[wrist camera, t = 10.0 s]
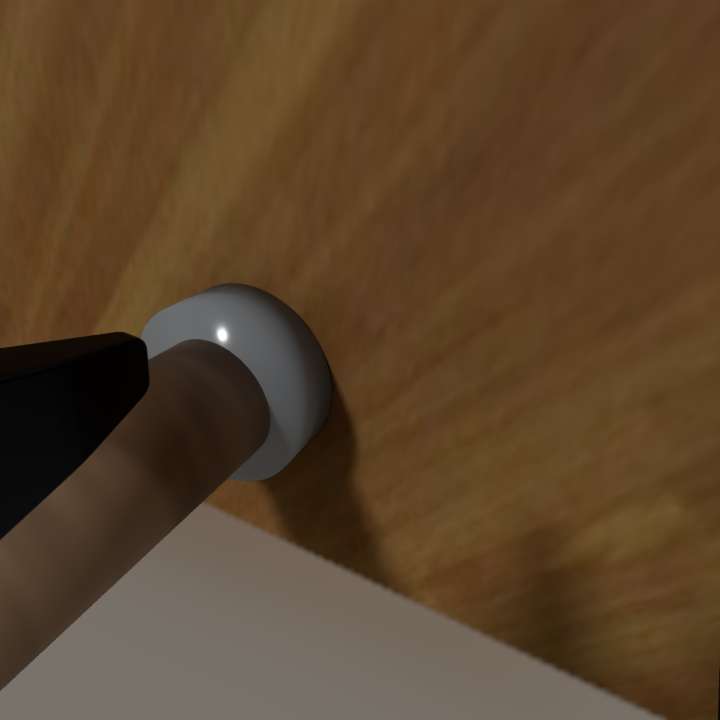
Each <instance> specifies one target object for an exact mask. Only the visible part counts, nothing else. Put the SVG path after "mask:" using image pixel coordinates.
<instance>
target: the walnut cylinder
mask: <svg viewBox="0 0 720 720" xmlns="http://www.w3.org/2000/svg"><path fill="white" fill-rule="evenodd" d="M148 363H149V375H150V384H149V388H148V390H147V392H146V394H145V395H144V397H143V398H142V399H141V400H140V401H139V402H138V403H137V405H136V406H135V407H134V408H133V409H132V410H131V411H130V412H129V413H128V415H127V416H126V417H125V418H124V419H123V420H122V421H121V422H120V423H119V425H118V426H117V427H116V428H115V429H114V430H113V431H112V432H111V434H110V435H109V436H108V437H107V438H106V439H105V440H104V441H103V442H102V444H101V445H100V446H99V447H98V448H97V449H96V450H95V451H94V452H93V454H92V455H91V456H90V457H89V458H88V459H87V460H86V461H85V462H84V463H83V464H82V465H81V466H80V467H79V468H78V469H77V470H76V471H75V472H74V473H73V474H72V475H71V476H69V477H68V478H67V479H66V480H65V481H64V482H63V483H62V484H61V485H60V486H59V487H58V488H56V489H55V490H54V491H53V492H52V493H51V494H50V495H49V496H48V497H47V498H46V499H45V500H44V501H42V502H41V503H40V504H39V505H38V506H37V507H36V508H35V509H34V510H33V511H32V512H31V513H29V514H28V515H27V516H26V517H25V518H24V519H23V520H22V521H21V522H20V523H19V524H18V525H16V526H15V527H14V528H13V529H12V530H11V531H10V532H9V533H8V534H7V535H6V536H5V537H4V538H2V539H1V540H0V691H1V690H2V689H3V688H4V687H5V686H6V685H7V684H8V683H9V682H10V681H11V680H12V679H14V678H15V677H16V676H17V675H18V674H19V673H20V672H21V671H22V670H23V669H24V668H25V667H26V666H27V665H28V664H30V663H31V662H32V661H33V660H34V659H35V658H36V657H37V656H38V655H39V654H40V653H41V652H42V651H44V650H45V649H46V648H47V647H48V646H49V645H50V644H51V643H52V642H53V641H54V640H55V639H56V638H57V637H58V636H60V635H61V634H62V633H63V632H64V631H65V630H66V629H67V628H68V627H69V626H70V625H71V624H72V623H73V622H75V621H76V620H77V619H78V618H79V617H80V616H81V615H82V614H83V613H84V612H85V611H86V610H87V609H88V608H89V607H91V606H92V604H94V603H95V602H96V601H97V600H98V599H99V598H100V597H101V596H102V595H103V594H104V593H106V592H107V590H109V589H110V588H111V587H112V586H113V585H114V584H115V583H116V582H117V581H118V580H119V579H121V578H122V577H123V576H124V575H125V574H126V573H127V572H128V571H129V570H130V569H131V568H132V567H133V566H134V565H135V564H136V563H138V562H139V561H140V560H141V559H142V558H143V557H144V556H145V555H146V554H147V553H148V552H149V551H150V550H152V549H153V548H154V547H155V545H157V544H158V543H159V542H160V541H161V540H162V539H163V538H164V537H165V536H167V534H169V533H170V532H171V531H172V530H173V529H174V528H175V527H176V526H177V525H178V524H179V523H180V522H182V521H183V519H185V518H186V517H187V516H188V515H189V514H190V513H191V512H192V511H193V510H194V509H195V508H196V507H198V506H199V505H200V504H201V503H202V502H203V501H204V500H205V499H206V498H207V497H208V496H209V495H210V494H211V493H213V492H214V491H215V490H216V489H217V488H218V487H219V486H220V485H221V484H222V483H223V482H224V481H225V480H226V479H228V478H229V477H230V476H231V475H232V474H233V473H234V472H235V471H236V470H237V469H238V468H239V467H240V466H241V465H242V464H244V463H245V462H246V461H247V460H248V459H249V458H250V457H251V456H252V455H253V454H254V453H255V452H256V451H257V450H259V449H260V448H261V446H262V445H263V444H264V443H265V441H266V439H267V437H268V434H269V429H270V412H269V406H268V403H267V399H266V397H265V394H264V392H263V389H262V388H261V386H260V384H259V382H258V380H257V379H256V377H255V376H254V374H253V373H252V372H251V371H250V369H249V368H248V367H247V366H246V365H245V364H244V363H243V362H242V361H241V360H240V359H239V358H238V357H237V356H236V355H234V354H233V353H232V352H230V351H229V350H227V349H226V348H224V347H222V346H220V345H218V344H216V343H213V342H211V341H207V340H202V339H189V340H185V341H182V342H180V343H178V344H176V345H174V346H173V347H171V348H169V349H167V350H165V351H164V352H162V353H160V354H158V355H156V356H154V357H153V358H151V359H149V360H148Z"/></svg>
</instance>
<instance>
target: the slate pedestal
mask: <svg viewBox="0 0 720 720" xmlns="http://www.w3.org/2000/svg"><path fill="white" fill-rule="evenodd" d="M140 339H142V340H143V341H144V342H145V344H146V346H147V351H148V360H149V359H151V358H153V357H154V356H156V355H158V354H160V353H162V352H164V351H165V350H167V349H169V348H171V347H173V346H174V345H176V344H178V343H180V342H182V341H185V340H189V339H202V340H207V341H211V342H213V343H216V344H218V345H220V346H222V347H224V348H226V349H227V350H229V351H230V352H232V353H233V354H234V355H236V356H237V357H238V358H239V359H240V360H241V361H242V362H243V363H244V364H245V365H246V366H247V367H248V368H249V369H250V371H251V372H252V373H253V374H254V376H255V377H256V379H257V380H258V382H259V384H260V386H261V388H262V389H263V392H264V394H265V397H266V399H267V403H268V406H269V412H270V429H269V434H268V437H267V439H266V441H265V443H264V444H263V445H262V446H261V448H260V449H259V450H257V451H256V452H255V453H254V454H253V455H252V456H251V457H250V458H249V459H248V460H247V461H246V462H245V463H244V464H242V465H241V466H240V467H239V468H238V469H237V470H236V471H235V472H234V473H233V474H232V475H231V476H230V477H229V478H231V479H235V480H240V481H259V480H264V479H267V478H269V477H272V476H274V475H275V474H277V473H279V472H280V471H281V470H282V469H283V468H284V467H285V466H286V465H287V464H288V463H289V462H290V461H291V460H292V459H293V458H294V457H295V456H296V455H297V454H298V453H299V452H300V451H301V450H302V449H303V447H304V446H305V445H306V444H307V443H308V442H309V441H310V440H311V439H312V438H313V437H314V436H315V435H316V434H317V433H318V432H319V430H320V429H321V428H322V426H323V425H324V423H325V421H326V419H327V417H328V414H329V411H330V407H331V400H332V384H331V376H330V372H329V368H328V364H327V361H326V359H325V356H324V353H323V351H322V349H321V347H320V345H319V343H318V341H317V340H316V338H315V336H314V335H313V333H312V332H311V330H310V329H309V328H308V326H307V325H306V324H305V323H304V321H303V320H302V319H301V318H300V317H299V316H298V315H297V314H296V313H295V312H294V311H293V310H292V309H291V308H290V307H288V306H287V305H286V304H285V303H284V302H282V301H281V300H279V299H278V298H276V297H275V296H273V295H271V294H269V293H267V292H265V291H263V290H261V289H258V288H255V287H253V286H249V285H244V284H234V283H229V284H221V285H217V286H214V287H211V288H209V289H207V290H205V291H202V292H200V293H198V294H196V295H194V296H191V297H189V298H187V299H185V300H183V301H181V302H178V303H176V304H174V305H172V306H170V307H167V308H165V309H164V310H162V311H160V312H158V313H157V314H156V315H155V316H153V317H152V318H151V319H150V321H149V322H148V323H147V324H146V326H145V328H144V330H143V332H142V335H141V338H140Z"/></svg>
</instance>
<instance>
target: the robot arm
mask: <svg viewBox="0 0 720 720" xmlns="http://www.w3.org/2000/svg"><path fill="white" fill-rule="evenodd" d="M149 384H150V375H149V363H148V351H147V346H146V344H145V342H144V341H143V340H142V339H140V338H138V337H135V336H133V335H130V334H128V333H125V332H113V333H106V334H99V335H92V336H85V337H77V338H70V339H63V340H56V341H49V342H42V343H35V344H27V345H20V346H13V347H6V348H0V540H1V539H2V538H4V537H5V536H6V535H7V534H8V533H9V532H10V531H11V530H12V529H13V528H14V527H15V526H16V525H18V524H19V523H20V522H21V521H22V520H23V519H24V518H25V517H26V516H27V515H28V514H29V513H31V512H32V511H33V510H34V509H35V508H36V507H37V506H38V505H39V504H40V503H41V502H42V501H44V500H45V499H46V498H47V497H48V496H49V495H50V494H51V493H52V492H53V491H54V490H55V489H56V488H58V487H59V486H60V485H61V484H62V483H63V482H64V481H65V480H66V479H67V478H68V477H69V476H71V475H72V474H73V473H74V472H75V471H76V470H77V469H78V468H79V467H80V466H81V465H82V464H83V463H84V462H85V461H86V460H87V459H88V458H89V457H90V456H91V455H92V454H93V452H94V451H95V450H96V449H97V448H98V447H99V446H100V445H101V444H102V442H103V441H104V440H105V439H106V438H107V437H108V436H109V435H110V434H111V432H112V431H113V430H114V429H115V428H116V427H117V426H118V425H119V423H120V422H121V421H122V420H123V419H124V418H125V417H126V416H127V415H128V413H129V412H130V411H131V410H132V409H133V408H134V407H135V406H136V405H137V403H138V402H139V401H140V400H141V399H142V398H143V397H144V395H145V394H146V392H147V390H148V388H149ZM718 720H720V671H719V702H718Z"/></svg>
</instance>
